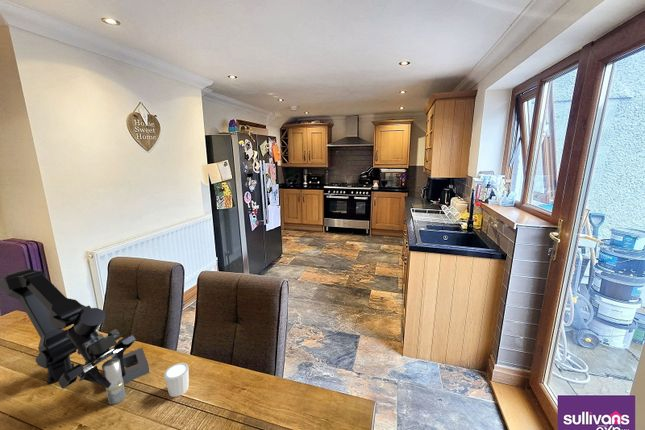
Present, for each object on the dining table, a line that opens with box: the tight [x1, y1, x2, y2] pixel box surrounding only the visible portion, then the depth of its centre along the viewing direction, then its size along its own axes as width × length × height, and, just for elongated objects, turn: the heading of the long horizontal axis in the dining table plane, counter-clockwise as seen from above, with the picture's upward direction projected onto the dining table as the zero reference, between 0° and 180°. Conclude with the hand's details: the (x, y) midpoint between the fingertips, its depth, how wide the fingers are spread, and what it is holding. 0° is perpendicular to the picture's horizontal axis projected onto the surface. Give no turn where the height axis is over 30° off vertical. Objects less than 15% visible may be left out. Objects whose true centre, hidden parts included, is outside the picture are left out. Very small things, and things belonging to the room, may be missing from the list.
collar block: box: [122, 347, 150, 385], centre depth 93 cm, size 11×11×4 cm
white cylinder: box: [163, 362, 190, 398], centre depth 86 cm, size 7×7×7 cm
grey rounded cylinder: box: [101, 358, 126, 405], centre depth 82 cm, size 4×4×12 cm
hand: (116, 381), depth 81 cm, fingers closed on grey rounded cylinder, 4 cm apart
